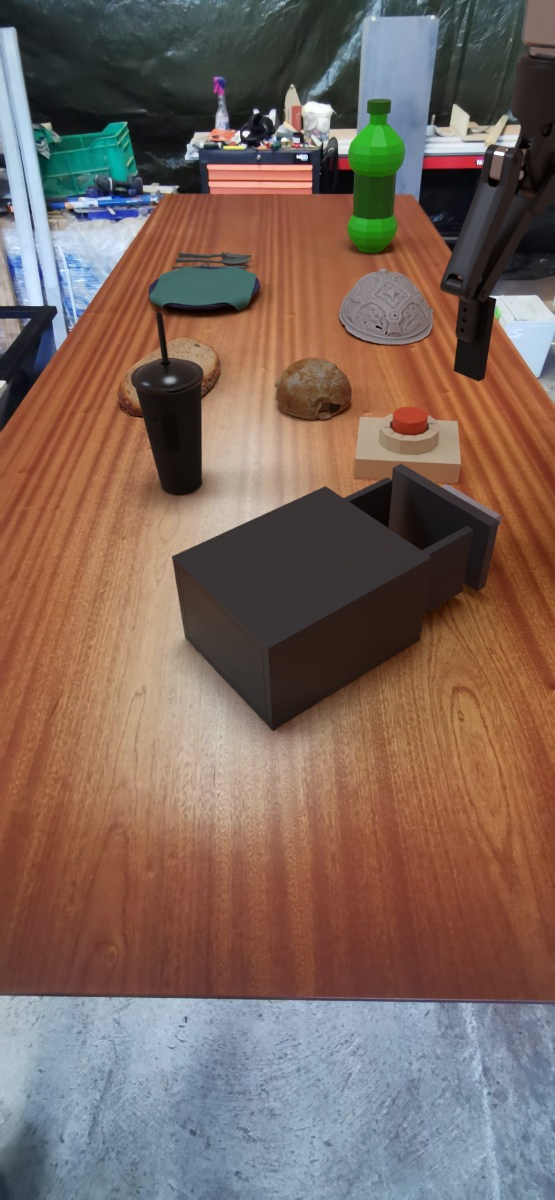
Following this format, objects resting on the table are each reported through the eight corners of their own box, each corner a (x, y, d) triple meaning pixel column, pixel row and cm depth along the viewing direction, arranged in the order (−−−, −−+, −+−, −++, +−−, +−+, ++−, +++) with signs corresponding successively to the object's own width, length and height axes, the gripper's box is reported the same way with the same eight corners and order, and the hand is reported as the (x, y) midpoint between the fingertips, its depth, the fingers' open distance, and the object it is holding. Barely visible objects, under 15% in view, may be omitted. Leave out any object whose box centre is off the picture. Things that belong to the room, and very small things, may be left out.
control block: (454, 440, 92) (459, 407, 89) (458, 484, 85) (463, 450, 82) (358, 435, 94) (360, 403, 91) (353, 478, 86) (355, 445, 83)
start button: (426, 420, 88) (427, 407, 87) (426, 437, 85) (428, 423, 84) (392, 419, 88) (393, 405, 87) (391, 435, 85) (392, 422, 84)
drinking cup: (227, 482, 87) (213, 312, 73) (176, 510, 83) (151, 335, 69) (186, 459, 91) (165, 293, 77) (136, 484, 87) (105, 314, 73)
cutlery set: (138, 318, 125) (136, 304, 123) (170, 260, 147) (169, 247, 146) (255, 318, 124) (254, 304, 122) (269, 259, 146) (269, 247, 144)
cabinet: (324, 565, 75) (325, 485, 68) (420, 640, 67) (432, 557, 60) (184, 637, 68) (171, 556, 61) (272, 731, 59) (268, 648, 53)
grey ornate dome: (341, 341, 114) (347, 296, 109) (335, 292, 133) (340, 252, 129) (441, 350, 114) (450, 306, 110) (420, 299, 133) (428, 260, 129)
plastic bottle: (344, 241, 153) (349, 96, 136) (395, 240, 152) (406, 95, 136) (345, 257, 145) (350, 106, 129) (399, 256, 145) (411, 104, 128)
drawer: (424, 511, 80) (432, 448, 74) (516, 568, 72) (532, 502, 67) (277, 587, 71) (275, 521, 66) (364, 661, 64) (368, 593, 58)
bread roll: (297, 448, 99) (313, 408, 92) (255, 393, 101) (268, 350, 95) (353, 425, 103) (372, 385, 96) (312, 372, 106) (328, 330, 99)
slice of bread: (202, 346, 116) (199, 322, 113) (253, 391, 104) (252, 365, 101) (91, 372, 110) (86, 348, 107) (133, 423, 98) (128, 397, 95)
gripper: (632, 26, 58) (572, 300, 72) (405, 68, 47) (387, 381, 61) (726, 30, 53) (642, 322, 67) (499, 78, 42) (456, 413, 57)
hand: (521, 351), depth 64 cm, fingers open, 13 cm apart
